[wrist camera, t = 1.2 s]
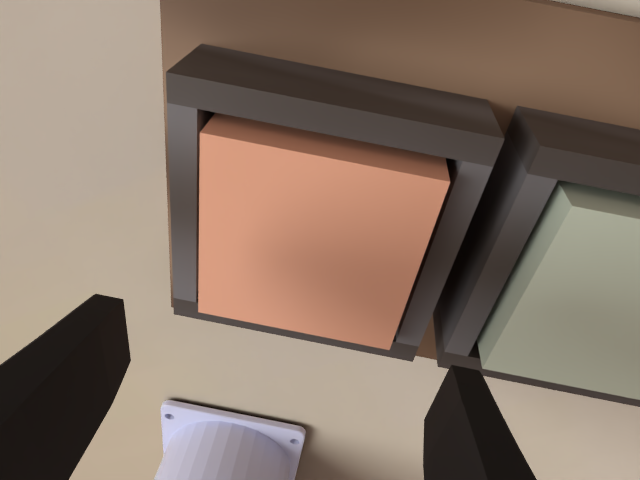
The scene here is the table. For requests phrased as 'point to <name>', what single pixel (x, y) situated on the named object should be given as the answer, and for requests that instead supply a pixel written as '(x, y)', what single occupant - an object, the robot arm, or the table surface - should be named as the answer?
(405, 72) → the key board
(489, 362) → the sage key
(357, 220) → the terracotta key
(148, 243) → the table surface
